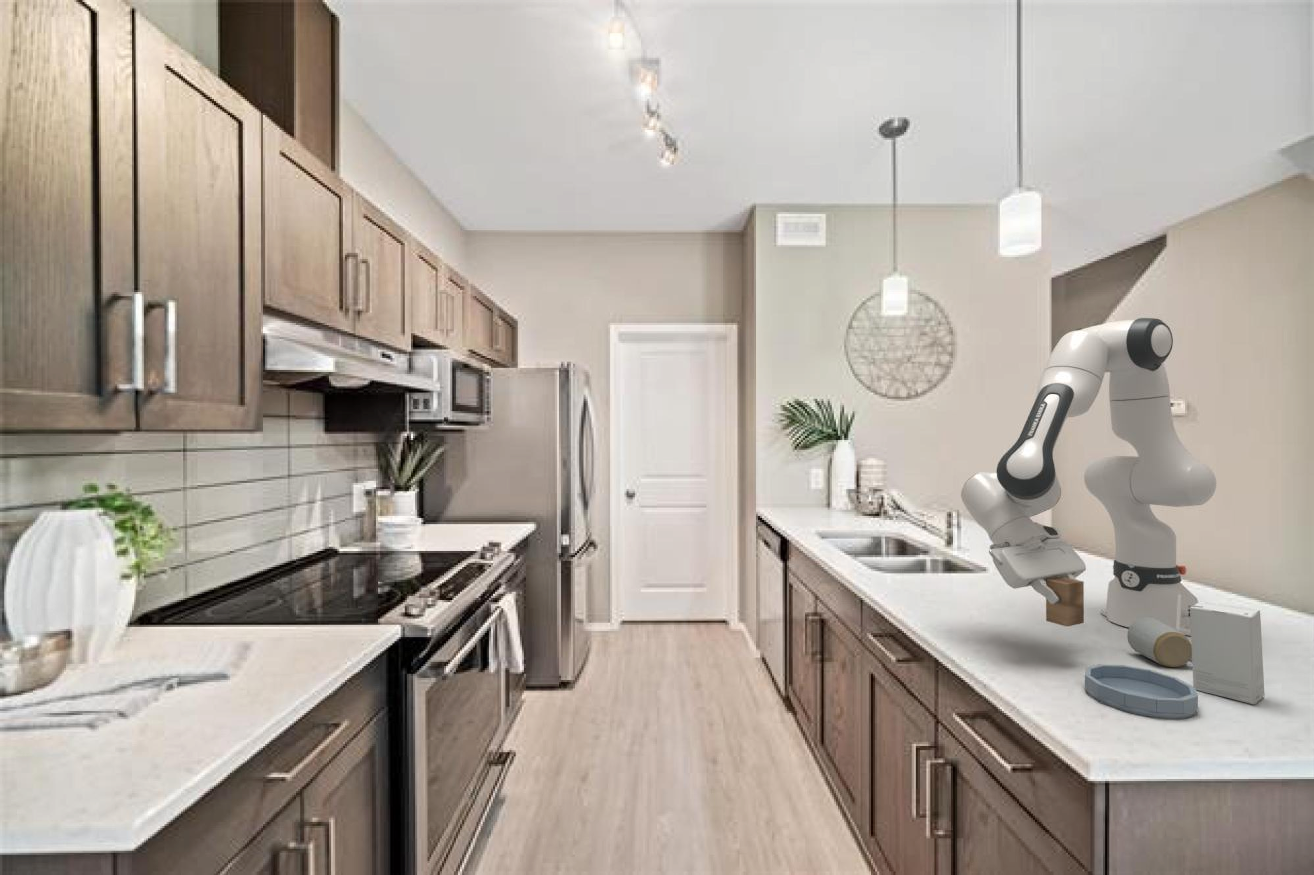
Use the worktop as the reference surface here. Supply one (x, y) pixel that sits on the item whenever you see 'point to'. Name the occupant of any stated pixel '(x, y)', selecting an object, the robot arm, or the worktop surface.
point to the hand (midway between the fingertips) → (1068, 599)
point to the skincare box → (1227, 651)
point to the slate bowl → (1141, 691)
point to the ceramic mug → (1159, 642)
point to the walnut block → (1066, 602)
